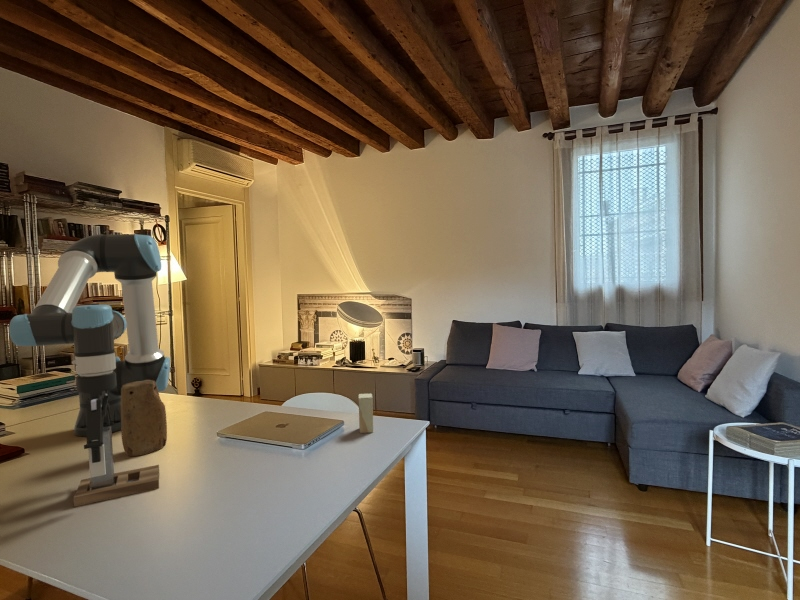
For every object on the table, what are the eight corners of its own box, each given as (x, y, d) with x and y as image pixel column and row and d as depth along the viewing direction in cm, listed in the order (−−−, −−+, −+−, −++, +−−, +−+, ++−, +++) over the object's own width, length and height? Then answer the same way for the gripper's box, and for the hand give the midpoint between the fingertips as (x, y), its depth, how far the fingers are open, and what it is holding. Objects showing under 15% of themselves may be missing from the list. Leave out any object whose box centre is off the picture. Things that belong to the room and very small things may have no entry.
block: (125, 459, 120) (121, 387, 119) (121, 452, 125) (117, 382, 125) (169, 449, 127) (166, 380, 126) (163, 442, 132) (160, 376, 132)
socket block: (81, 488, 103) (81, 479, 103) (159, 472, 111) (158, 464, 111) (74, 506, 95) (73, 497, 94) (158, 488, 102) (158, 479, 102)
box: (359, 427, 140) (358, 393, 140) (373, 427, 141) (372, 392, 140) (359, 433, 135) (358, 397, 134) (373, 432, 135) (372, 397, 135)
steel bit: (94, 488, 102) (90, 429, 101) (114, 484, 104) (111, 425, 103) (91, 495, 98) (87, 434, 98) (112, 491, 100) (109, 430, 100)
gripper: (84, 365, 109) (90, 449, 110) (64, 386, 87) (71, 490, 88) (120, 362, 113) (125, 443, 114) (110, 381, 91) (116, 481, 92)
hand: (101, 464), depth 101 cm, fingers open, 13 cm apart
